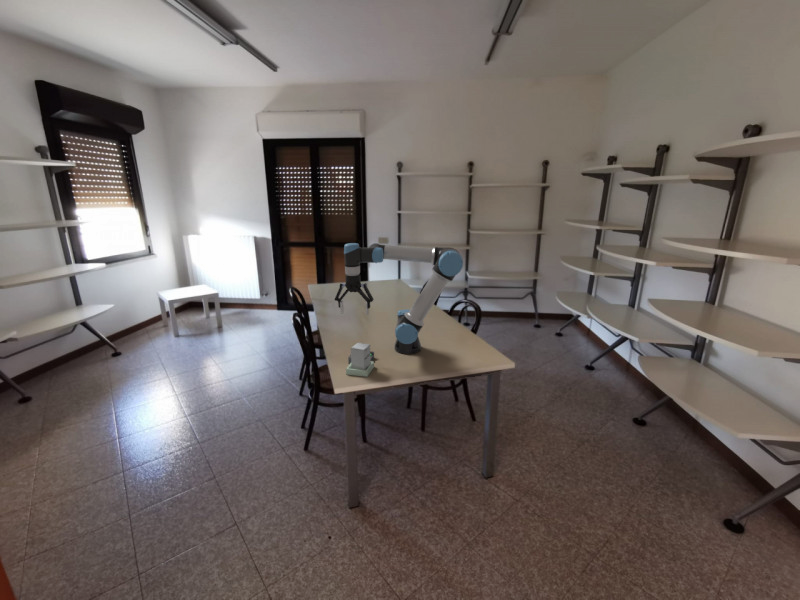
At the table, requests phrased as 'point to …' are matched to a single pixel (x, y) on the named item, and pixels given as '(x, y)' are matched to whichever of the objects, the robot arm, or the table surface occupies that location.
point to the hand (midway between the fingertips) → (354, 313)
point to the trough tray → (360, 372)
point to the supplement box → (360, 356)
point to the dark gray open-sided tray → (370, 357)
